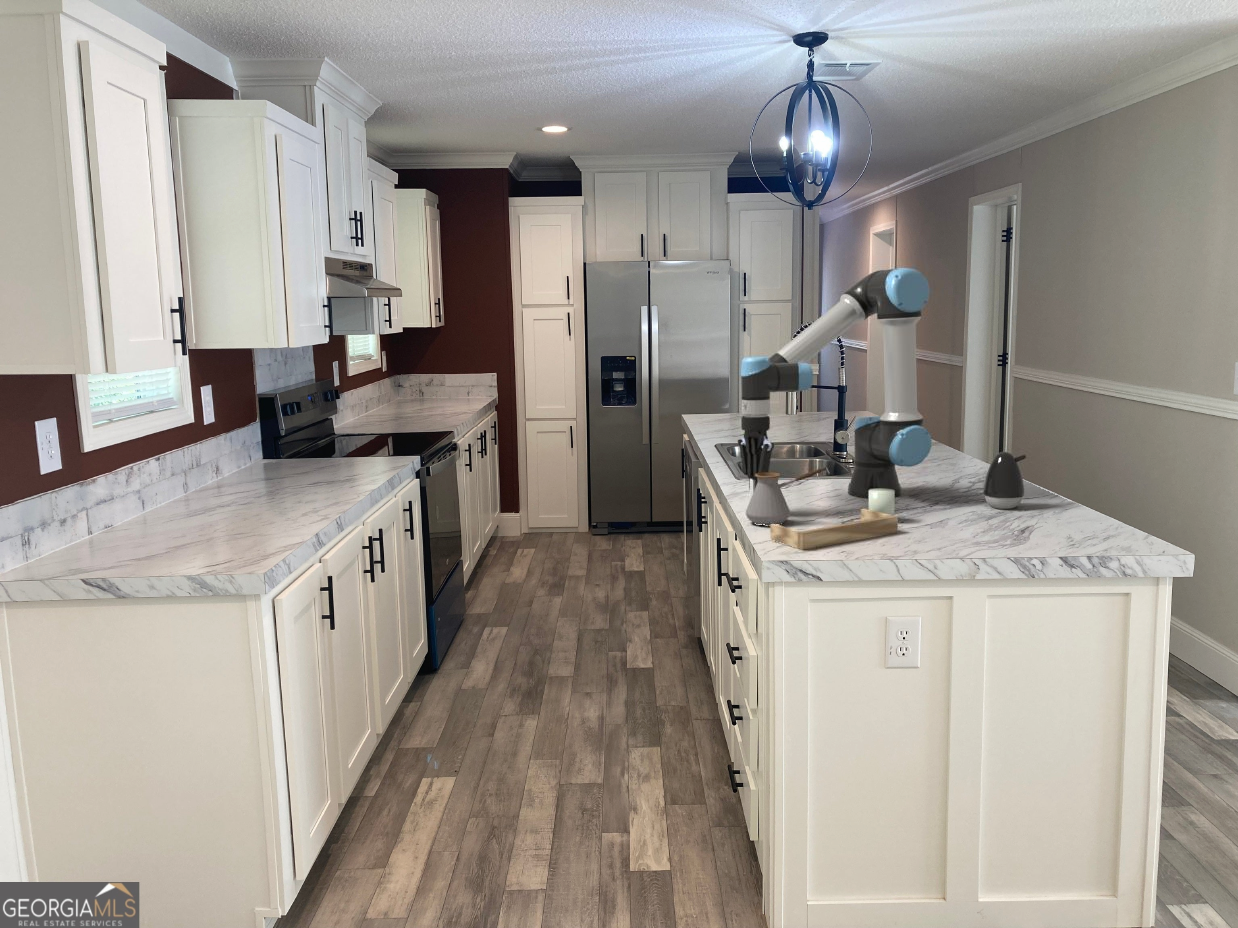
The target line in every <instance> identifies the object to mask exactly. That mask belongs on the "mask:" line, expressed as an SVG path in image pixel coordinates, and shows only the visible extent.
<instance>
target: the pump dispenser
mask: <svg viewBox="0 0 1238 928" xmlns="http://www.w3.org/2000/svg"><path fill="white" fill-rule="evenodd" d="M1026 458H1027V456H1026V454H1022V455H1019V456H1015V455H1013V454H1012V453H1011V452H1008V451H1001V452H999V453H997V454H996V455H995V456H994V457H993V459H992V460H991V462H990V465H989V467H988V469H987V472H986V476H985V478H984V479H985V480H984V484H983V495H984V498H985V499H984V500H985V501H986V503H987V504H988V505H989V506H990V507H992V508H994V509H998V510H999V509H1000V510H1011V509H1014V508H1017V507H1018V506H1019V505H1020V504H1021V502H1022V500H1023V498H1024V496H1025V486H1024V485H1025V483H1024V479H1023V474H1022V471H1021V470H1022V469H1021V467H1020V464H1019V462H1021V461H1023V460H1025V459H1026Z"/></svg>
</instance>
